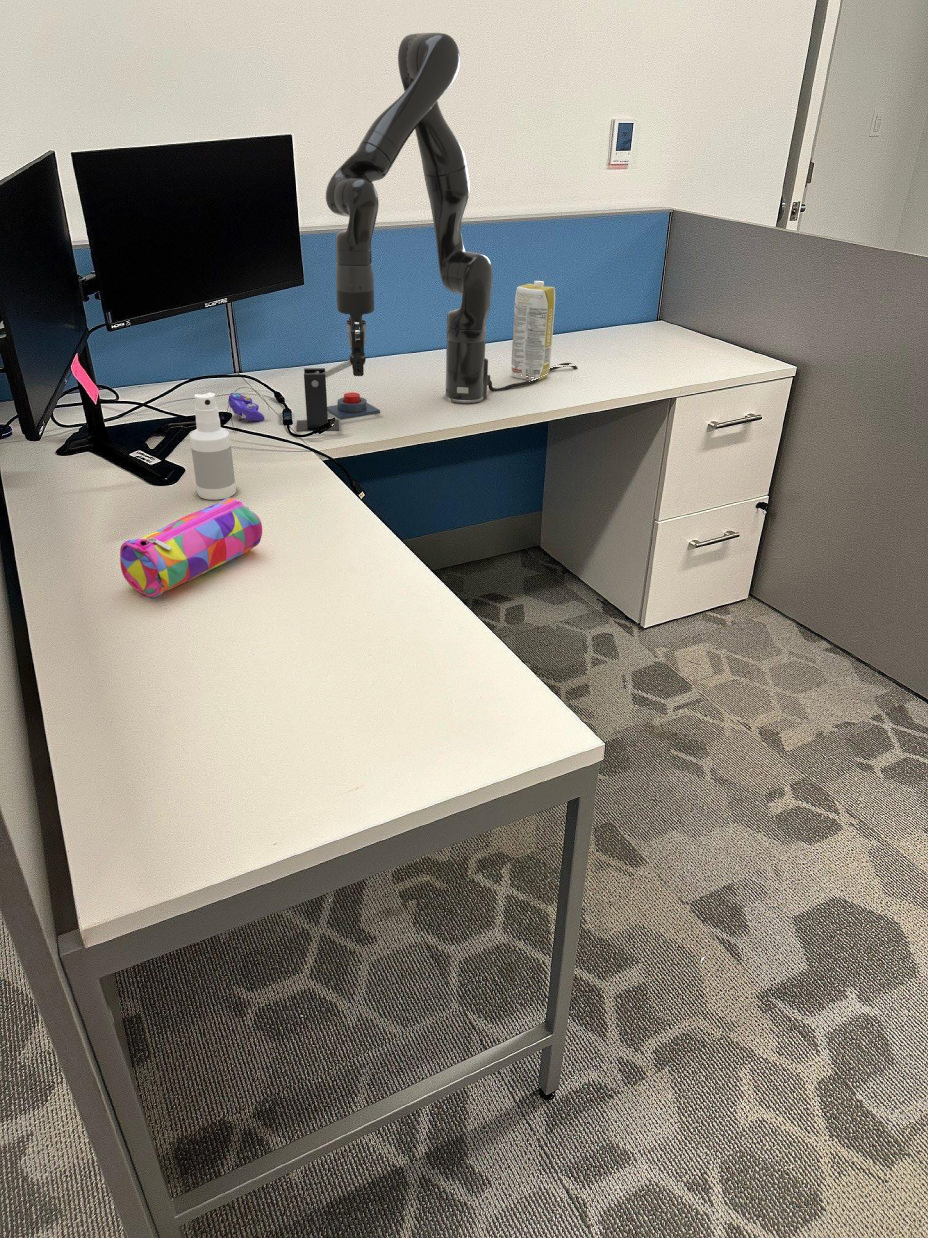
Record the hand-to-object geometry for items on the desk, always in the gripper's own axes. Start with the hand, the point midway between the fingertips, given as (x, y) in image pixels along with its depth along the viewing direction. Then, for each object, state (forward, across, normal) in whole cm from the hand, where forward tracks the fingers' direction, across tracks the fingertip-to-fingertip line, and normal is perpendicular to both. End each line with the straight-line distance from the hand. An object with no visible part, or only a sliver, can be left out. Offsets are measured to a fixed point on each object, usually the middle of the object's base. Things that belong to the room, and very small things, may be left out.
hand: (358, 371), depth 183 cm
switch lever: (+1, 0, +4) cm, 4 cm away
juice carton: (+13, +40, -46) cm, 63 cm away
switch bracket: (+12, 0, +9) cm, 15 cm away
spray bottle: (+13, -34, +27) cm, 45 cm away
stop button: (+9, +10, +1) cm, 14 cm away
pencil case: (+13, -65, +27) cm, 71 cm away
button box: (+12, +10, +1) cm, 16 cm away
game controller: (+13, +5, +26) cm, 29 cm away
